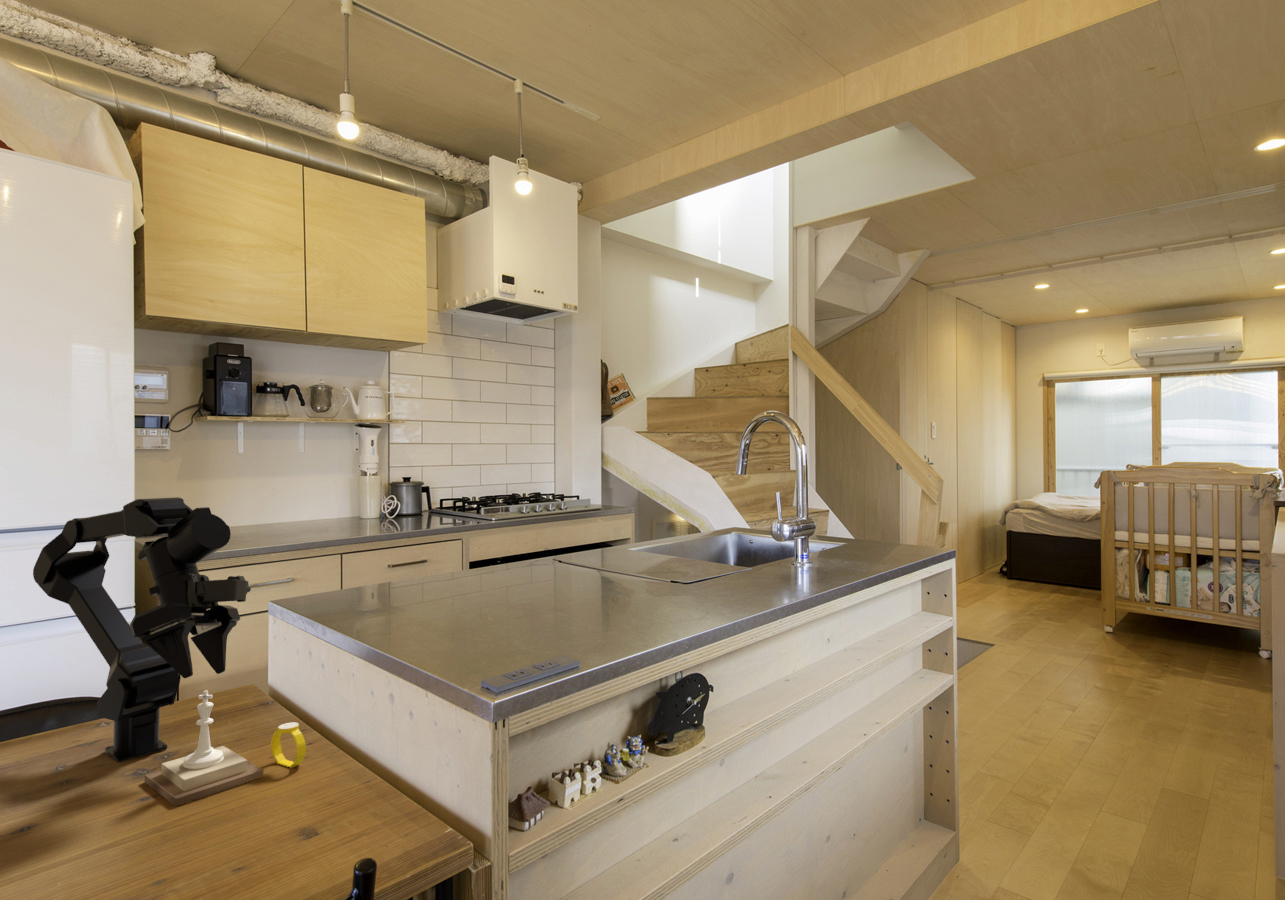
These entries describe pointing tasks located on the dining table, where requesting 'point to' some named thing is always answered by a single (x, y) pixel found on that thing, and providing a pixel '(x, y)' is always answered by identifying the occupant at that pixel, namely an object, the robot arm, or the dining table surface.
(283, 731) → the watch
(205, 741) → the chess piece
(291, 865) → the dining table surface
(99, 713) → the robot arm
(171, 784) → the build base
